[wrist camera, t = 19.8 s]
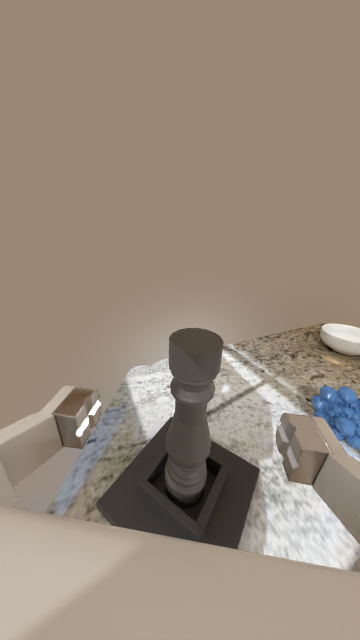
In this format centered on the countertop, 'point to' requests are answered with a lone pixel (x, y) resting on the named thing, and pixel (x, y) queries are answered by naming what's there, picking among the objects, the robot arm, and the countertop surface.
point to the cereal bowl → (341, 338)
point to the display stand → (170, 520)
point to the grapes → (340, 413)
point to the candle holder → (190, 412)
